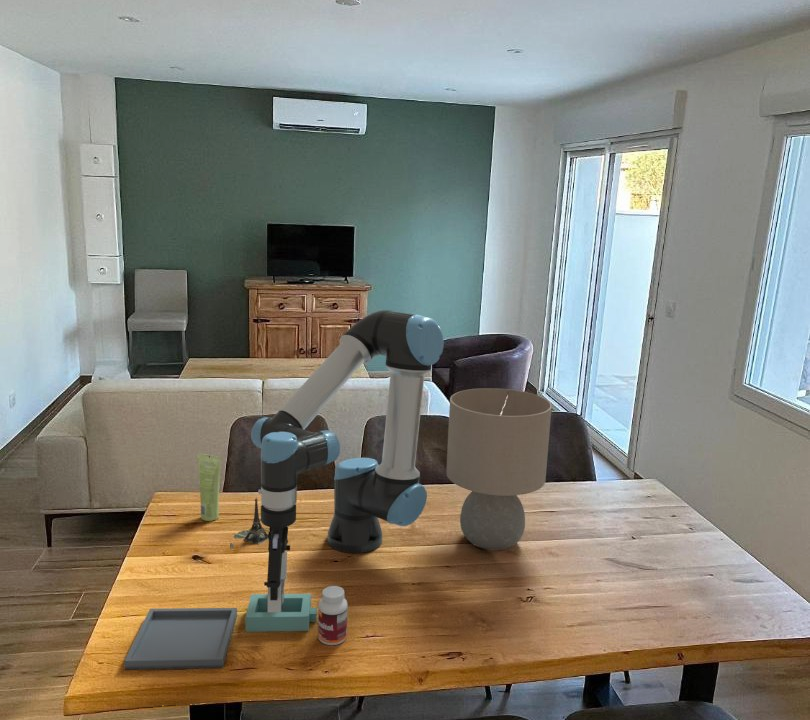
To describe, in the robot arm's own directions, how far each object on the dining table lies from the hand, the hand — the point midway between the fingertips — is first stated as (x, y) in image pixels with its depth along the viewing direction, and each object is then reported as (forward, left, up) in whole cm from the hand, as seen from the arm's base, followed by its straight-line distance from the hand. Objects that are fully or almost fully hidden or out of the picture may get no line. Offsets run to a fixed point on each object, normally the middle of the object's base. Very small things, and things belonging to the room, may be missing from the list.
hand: (277, 594), depth 154 cm
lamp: (-55, -36, -7) cm, 66 cm away
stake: (0, 0, -6) cm, 6 cm away
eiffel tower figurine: (+10, -39, -7) cm, 41 cm away
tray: (+19, +7, -6) cm, 21 cm away
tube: (+25, -51, -7) cm, 57 cm away
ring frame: (0, 0, -6) cm, 6 cm away
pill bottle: (-12, +7, -7) cm, 15 cm away
